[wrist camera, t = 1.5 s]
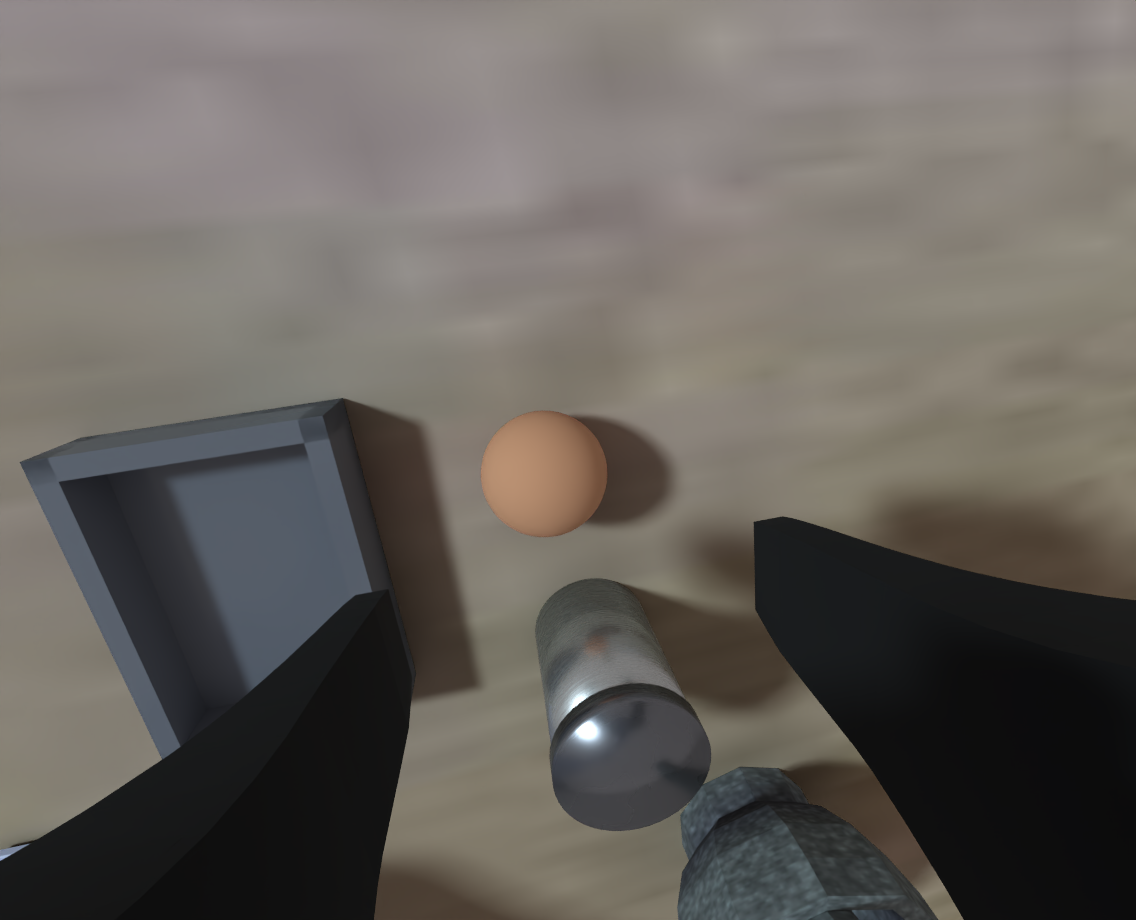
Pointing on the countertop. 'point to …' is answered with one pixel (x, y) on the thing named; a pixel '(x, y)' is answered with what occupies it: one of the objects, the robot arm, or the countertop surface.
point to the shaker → (615, 711)
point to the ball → (544, 473)
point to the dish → (213, 549)
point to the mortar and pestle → (783, 858)
